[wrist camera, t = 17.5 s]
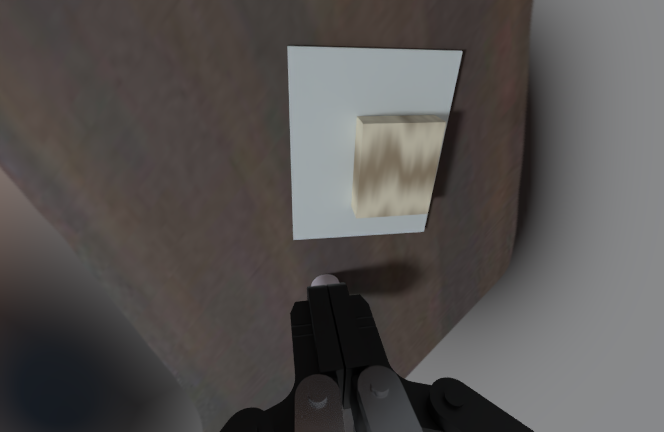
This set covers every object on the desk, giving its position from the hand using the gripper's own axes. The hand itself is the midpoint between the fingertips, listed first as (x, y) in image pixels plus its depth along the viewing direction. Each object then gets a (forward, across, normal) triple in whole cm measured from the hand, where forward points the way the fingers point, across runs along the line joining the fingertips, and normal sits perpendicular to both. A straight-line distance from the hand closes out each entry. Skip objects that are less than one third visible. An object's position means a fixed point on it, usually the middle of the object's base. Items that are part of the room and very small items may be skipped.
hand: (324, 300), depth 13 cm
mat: (+23, -8, +3) cm, 24 cm away
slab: (+21, -6, +4) cm, 22 cm away
